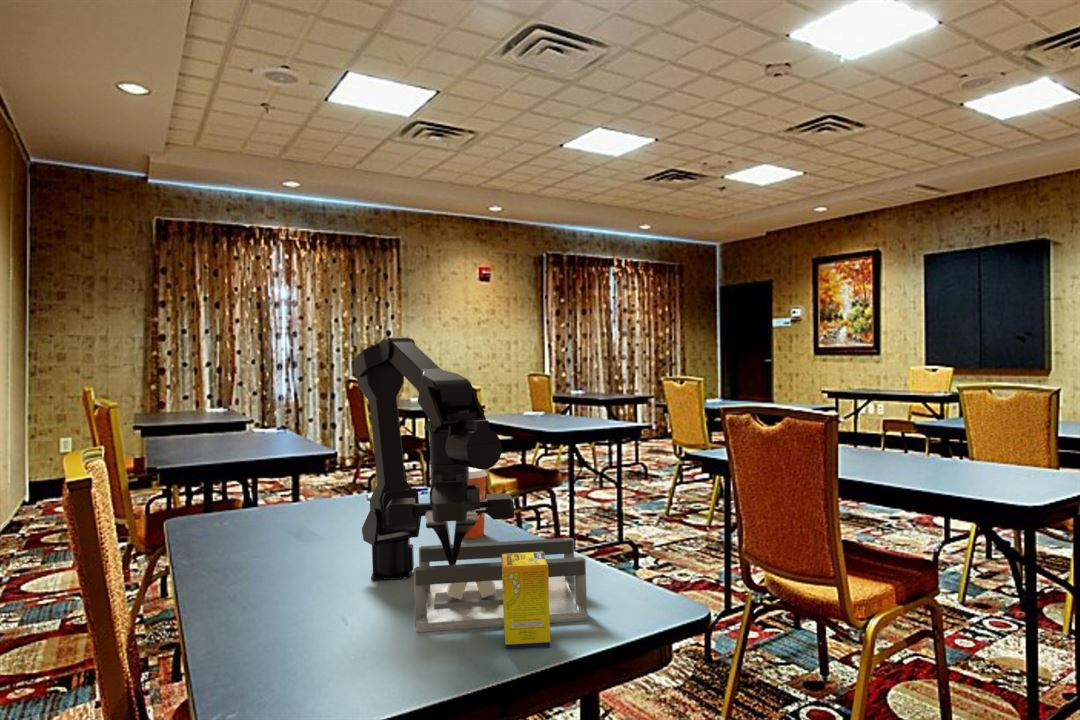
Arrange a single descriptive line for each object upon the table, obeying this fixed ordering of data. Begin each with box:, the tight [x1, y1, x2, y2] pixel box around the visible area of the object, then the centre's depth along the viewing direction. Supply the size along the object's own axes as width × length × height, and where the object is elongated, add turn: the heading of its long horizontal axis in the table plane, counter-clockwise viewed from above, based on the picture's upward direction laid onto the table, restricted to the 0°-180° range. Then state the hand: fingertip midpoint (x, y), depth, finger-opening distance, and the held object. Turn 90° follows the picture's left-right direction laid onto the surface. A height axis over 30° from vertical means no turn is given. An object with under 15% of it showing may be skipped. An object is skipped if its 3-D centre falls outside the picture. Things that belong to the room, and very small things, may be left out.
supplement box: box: [501, 552, 551, 651], centre depth 93 cm, size 6×6×11 cm
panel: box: [415, 576, 589, 633], centre depth 106 cm, size 24×16×2 cm, turn 96°
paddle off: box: [476, 581, 496, 598], centre depth 106 cm, size 2×3×3 cm, turn 6°
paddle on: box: [447, 582, 468, 600], centre depth 105 cm, size 2×3×3 cm, turn 6°
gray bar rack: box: [413, 537, 588, 627], centre depth 106 cm, size 25×13×8 cm, turn 96°
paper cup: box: [463, 467, 488, 540], centre depth 148 cm, size 8×8×14 cm
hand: (452, 565), depth 105 cm, fingers closed
